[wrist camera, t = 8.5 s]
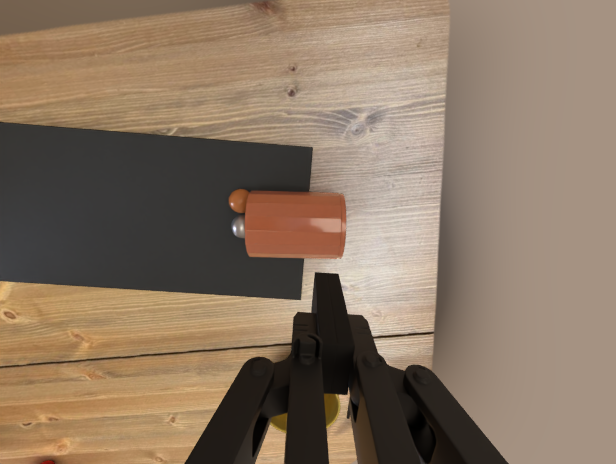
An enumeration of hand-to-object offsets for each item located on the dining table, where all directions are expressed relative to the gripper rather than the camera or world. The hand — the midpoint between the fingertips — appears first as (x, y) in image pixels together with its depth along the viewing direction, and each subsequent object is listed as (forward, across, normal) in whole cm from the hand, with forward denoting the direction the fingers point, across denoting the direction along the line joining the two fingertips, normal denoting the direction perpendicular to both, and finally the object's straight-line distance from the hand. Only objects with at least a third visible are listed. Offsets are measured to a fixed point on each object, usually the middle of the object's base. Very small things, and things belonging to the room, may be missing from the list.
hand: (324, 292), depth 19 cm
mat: (+18, -23, -2) cm, 30 cm away
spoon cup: (+14, +3, 0) cm, 14 cm away
